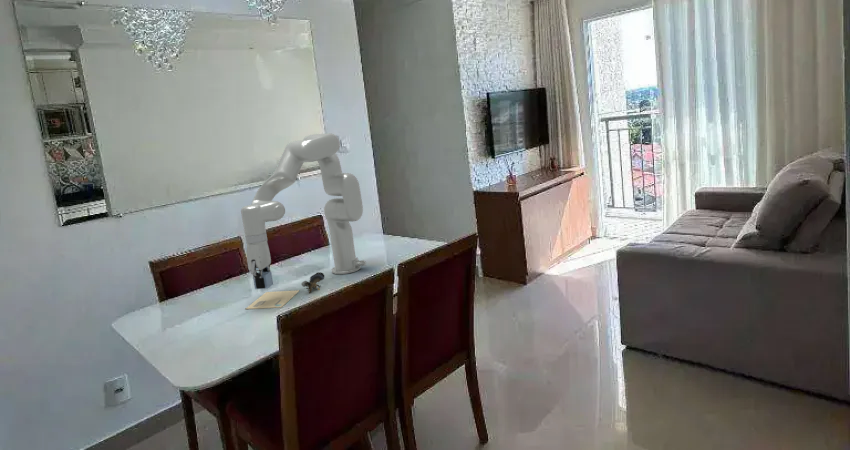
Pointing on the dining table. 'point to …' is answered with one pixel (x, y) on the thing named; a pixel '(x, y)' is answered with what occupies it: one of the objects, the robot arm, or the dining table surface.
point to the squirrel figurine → (313, 281)
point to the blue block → (266, 279)
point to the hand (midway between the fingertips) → (264, 285)
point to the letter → (273, 299)
